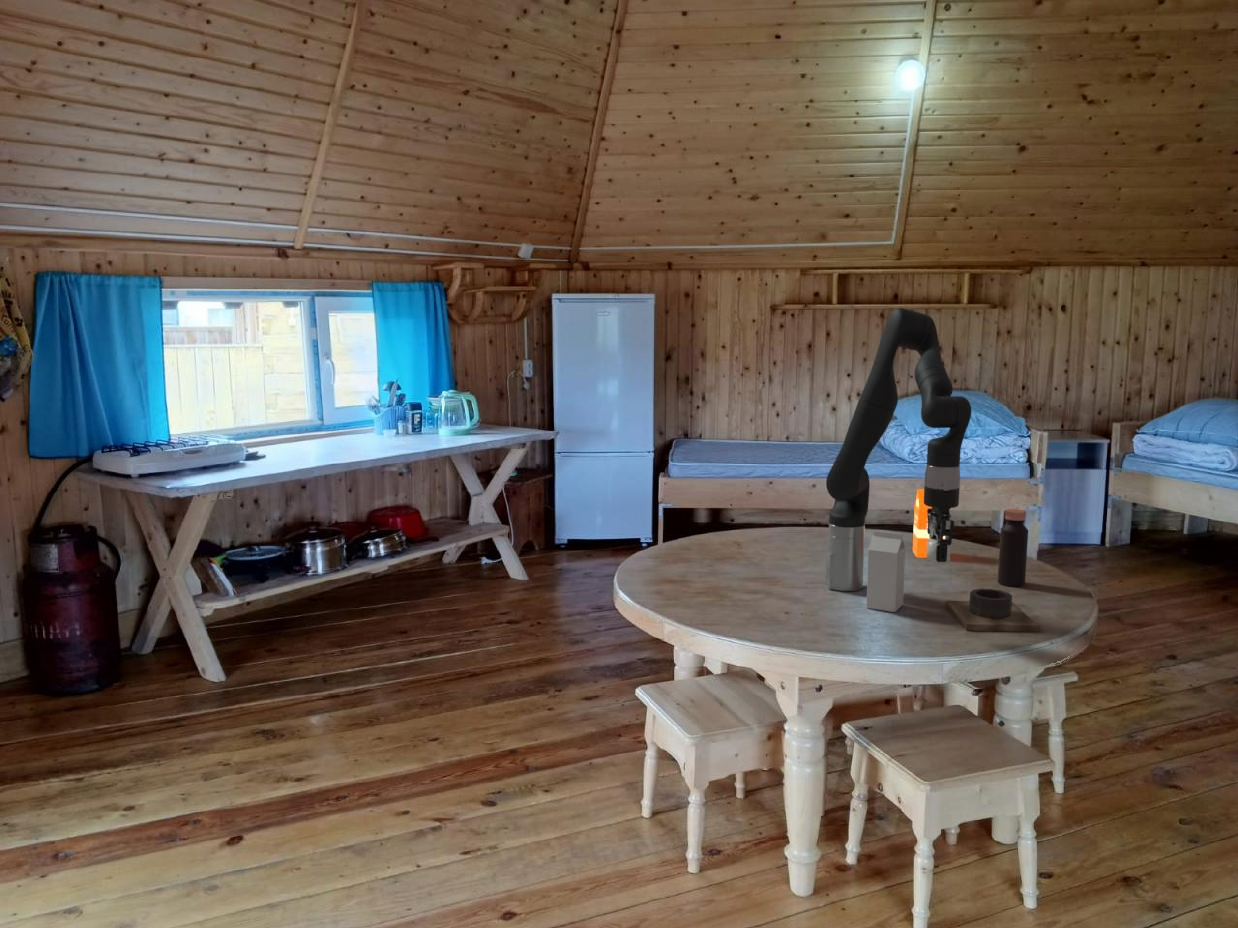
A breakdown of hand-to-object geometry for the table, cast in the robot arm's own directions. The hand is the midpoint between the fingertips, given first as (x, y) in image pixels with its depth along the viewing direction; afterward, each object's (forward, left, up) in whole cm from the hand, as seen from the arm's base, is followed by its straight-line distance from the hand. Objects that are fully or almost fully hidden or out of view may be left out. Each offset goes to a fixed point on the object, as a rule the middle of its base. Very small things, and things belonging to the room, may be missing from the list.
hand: (938, 557), depth 214 cm
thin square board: (+15, +9, -17) cm, 25 cm away
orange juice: (+16, +69, -17) cm, 73 cm away
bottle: (+30, +39, -17) cm, 52 cm away
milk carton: (-8, +17, -17) cm, 26 cm away
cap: (0, 0, -1) cm, 1 cm away
